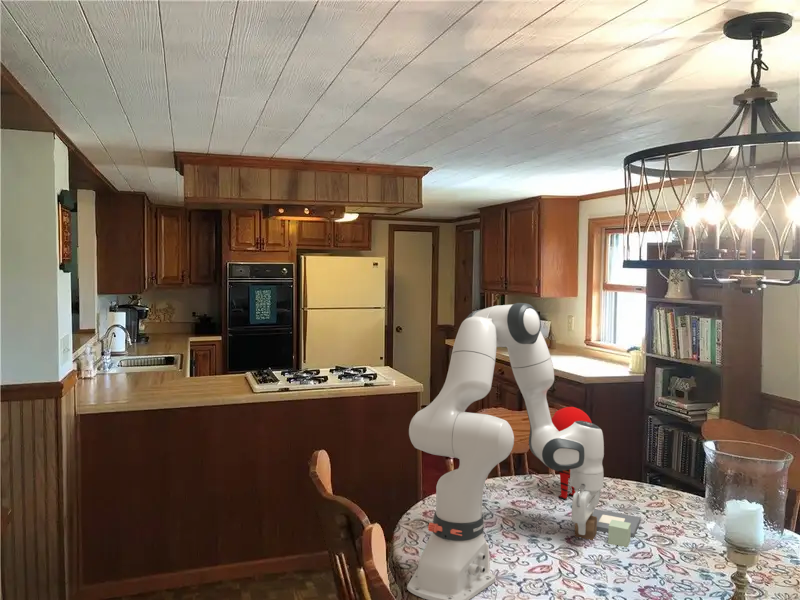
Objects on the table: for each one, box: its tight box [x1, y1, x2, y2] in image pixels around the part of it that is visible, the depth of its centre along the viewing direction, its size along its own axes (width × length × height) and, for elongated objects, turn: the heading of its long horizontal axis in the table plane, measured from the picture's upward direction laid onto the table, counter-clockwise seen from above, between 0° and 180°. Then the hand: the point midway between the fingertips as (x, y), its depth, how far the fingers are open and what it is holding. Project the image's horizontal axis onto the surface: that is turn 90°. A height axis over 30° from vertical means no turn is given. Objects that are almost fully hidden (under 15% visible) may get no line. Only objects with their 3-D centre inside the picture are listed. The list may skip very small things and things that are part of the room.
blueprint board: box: [593, 508, 642, 539], centre depth 182 cm, size 14×14×1 cm
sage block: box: [607, 520, 632, 548], centre depth 170 cm, size 5×5×5 cm
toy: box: [551, 406, 593, 501], centre depth 204 cm, size 22×14×30 cm, turn 123°
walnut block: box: [574, 516, 598, 541], centre depth 174 cm, size 5×5×5 cm
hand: (585, 528), depth 174 cm, fingers open, 7 cm apart
